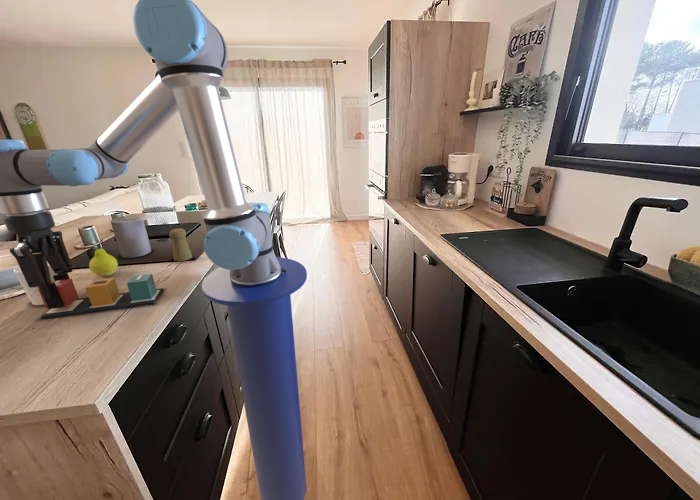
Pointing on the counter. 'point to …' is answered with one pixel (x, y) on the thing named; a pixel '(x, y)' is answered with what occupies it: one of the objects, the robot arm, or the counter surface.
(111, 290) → the slotted yellow cube
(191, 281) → the counter surface
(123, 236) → the pillar candle
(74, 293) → the red block
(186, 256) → the cork
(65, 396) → the counter surface
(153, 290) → the teal slotted block
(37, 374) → the counter surface
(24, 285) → the white cup
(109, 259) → the fruit
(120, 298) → the word mat
